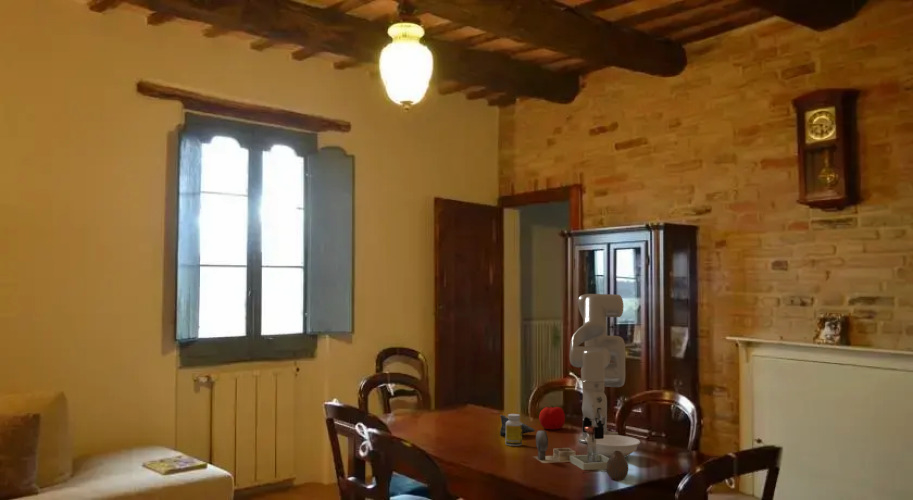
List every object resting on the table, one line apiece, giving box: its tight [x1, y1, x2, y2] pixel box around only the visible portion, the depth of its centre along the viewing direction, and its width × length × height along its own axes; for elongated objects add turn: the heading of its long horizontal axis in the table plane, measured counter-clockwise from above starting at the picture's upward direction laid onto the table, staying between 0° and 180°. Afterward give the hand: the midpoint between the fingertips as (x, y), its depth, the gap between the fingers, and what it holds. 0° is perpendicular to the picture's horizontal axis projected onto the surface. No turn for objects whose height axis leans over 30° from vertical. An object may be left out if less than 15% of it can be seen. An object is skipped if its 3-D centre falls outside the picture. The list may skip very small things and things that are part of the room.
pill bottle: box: [504, 413, 523, 447], centre depth 304 cm, size 6×6×12 cm
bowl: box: [585, 434, 641, 458], centre depth 285 cm, size 20×20×6 cm
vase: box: [606, 451, 629, 481], centre depth 254 cm, size 7×7×9 cm
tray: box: [569, 454, 610, 474], centre depth 268 cm, size 12×12×3 cm
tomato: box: [538, 404, 566, 430], centre depth 339 cm, size 11×13×10 cm
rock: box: [499, 414, 536, 437], centre depth 322 cm, size 16×8×10 cm
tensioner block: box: [532, 430, 577, 464], centre depth 276 cm, size 14×10×11 cm
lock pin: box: [585, 426, 598, 463], centre depth 268 cm, size 5×5×13 cm
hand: (593, 435), depth 269 cm, fingers open, 9 cm apart
